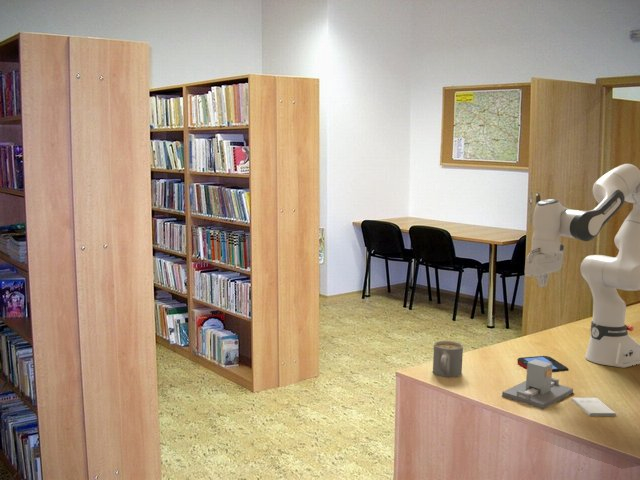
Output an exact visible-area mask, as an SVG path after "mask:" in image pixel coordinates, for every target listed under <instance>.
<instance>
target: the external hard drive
mask: <svg viewBox="0 0 640 480" xmlns="http://www.w3.org/2000/svg"><path fill="white" fill-rule="evenodd" d="M571 401H572V402H573V403H574V404H575V405H576V406H578V407H579V408H580V409H581V410H582V411H583V412H584V413H585V414H586V415H587V417H616V416H617V413H616V412H615V411H614V410H612V409H611V408H610V407H608V405H606V404H605V403H604V402H603V401H601V400H600V399H599V398H598V397H572V398H571Z"/></svg>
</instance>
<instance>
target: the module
mask: <svg viewBox="0 0 640 480" xmlns="http://www.w3.org/2000/svg"><path fill="white" fill-rule="evenodd" d="M552 375H553V372H552V363H548V362H544V361H540V360H536V359H534V360H532V361H530V362H528V363H527V369H526V380H525V381H526V390H529V389H531V388H533V387H535V388H538V389H540V394H545V393H547V392H549V391H551V378H553V376H552Z"/></svg>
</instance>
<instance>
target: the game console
mask: <svg viewBox="0 0 640 480" xmlns="http://www.w3.org/2000/svg"><path fill="white" fill-rule="evenodd" d="M534 359H536V360H540V361H544V362H548V363H552V373H557V372H558V373H559V372H567V371H569V367H567V366H565V365H564V364H562V363H561V362H559V361H557V359H555V358H552V357H551V356H549V355H537V356H536V355H535V356H527V357H518V358H517V359H516V360H517V365H519V366H521V367H523V368H525V369H526V370H527V363H528V362H530V361H532V360H534Z"/></svg>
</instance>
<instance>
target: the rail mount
mask: <svg viewBox="0 0 640 480" xmlns="http://www.w3.org/2000/svg"><path fill="white" fill-rule="evenodd" d="M573 392H574V388H572V387H569V386H566V385H562V384H560V379H558V378H555V377H552V378H551V391H549V392H547V393H545V394H540V389H538V388H535V387H533V388H531V389H529V390H526V380H525V381H523V382H520V383H518V384H516V385H514V386H512V387H510V388H507V389H506V390H503V391H502V393H501V396H502V397H504V398H506V399H510V400H513V401H516V402H519V403H522V404H526V405H528V406H532V407H535V408H538V409H542V410H544V409H546V408H548V407H550V406H552V405H554V404H555V403H557V402H559V401H561V400H563V399H564V398H566V397H568V396H570V395H571V394H573Z"/></svg>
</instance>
